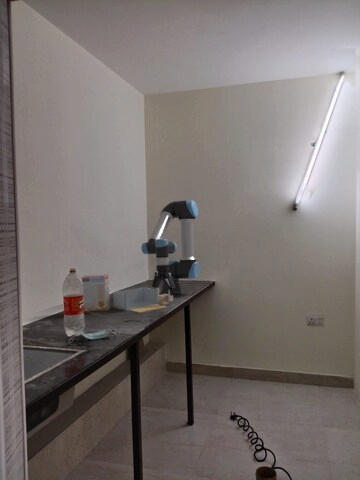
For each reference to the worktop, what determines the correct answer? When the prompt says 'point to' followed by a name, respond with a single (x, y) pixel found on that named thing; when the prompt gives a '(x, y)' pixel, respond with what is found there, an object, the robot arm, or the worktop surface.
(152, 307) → the panel
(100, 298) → the cracker box
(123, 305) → the pale blue open box
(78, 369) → the worktop surface
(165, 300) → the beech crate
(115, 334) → the worktop surface
